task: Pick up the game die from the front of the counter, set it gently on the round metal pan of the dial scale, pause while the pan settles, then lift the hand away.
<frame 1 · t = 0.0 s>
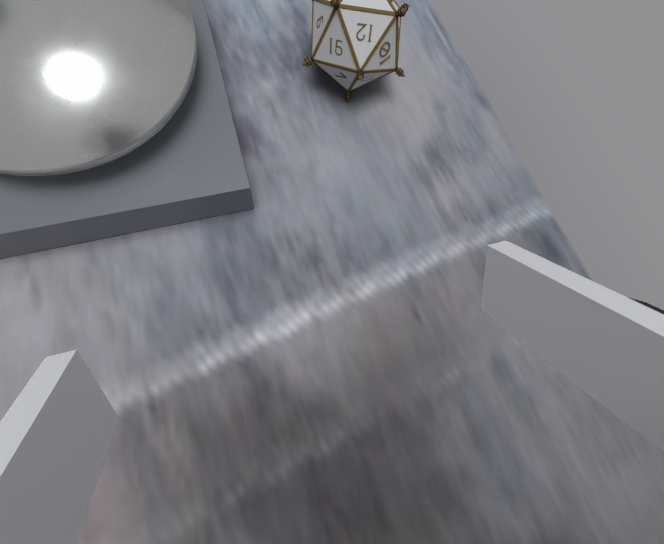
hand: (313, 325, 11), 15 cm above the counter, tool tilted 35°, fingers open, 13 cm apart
game die: (346, 74, 31), on the counter
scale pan: (45, 41, 21), point 6 cm above the counter, slide at 0.5 cm
scale: (95, 103, 27), on the counter
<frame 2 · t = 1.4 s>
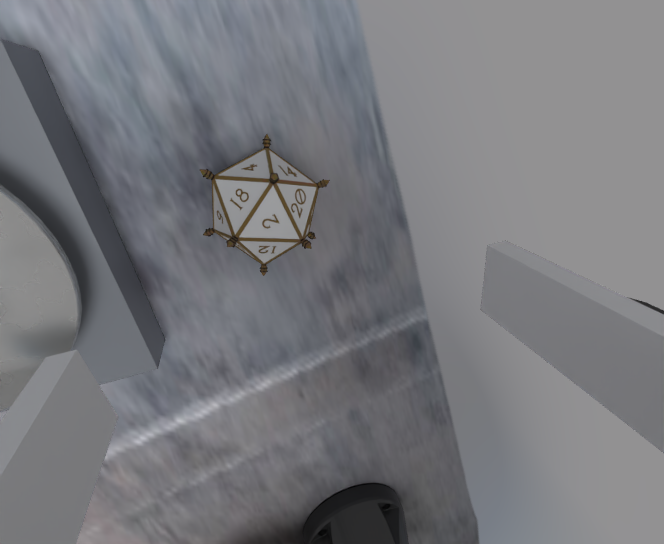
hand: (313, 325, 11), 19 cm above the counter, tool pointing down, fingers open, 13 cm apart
game die: (259, 195, 28), on the counter
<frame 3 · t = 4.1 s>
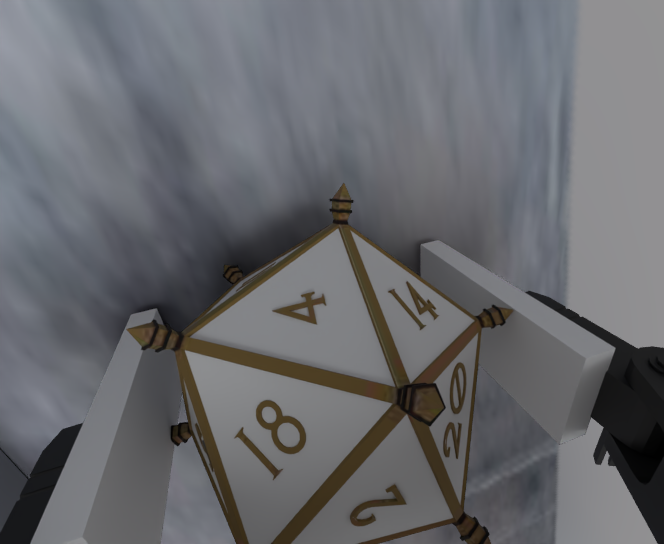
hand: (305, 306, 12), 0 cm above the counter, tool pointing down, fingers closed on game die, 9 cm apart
game die: (298, 300, 13), on the counter, touching gripper
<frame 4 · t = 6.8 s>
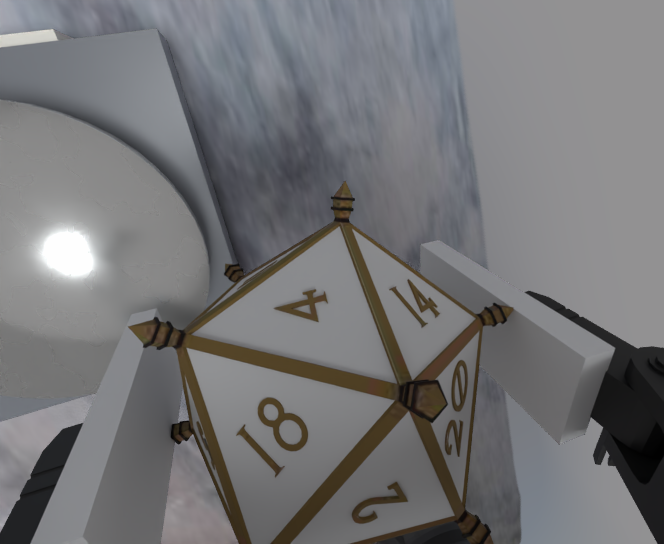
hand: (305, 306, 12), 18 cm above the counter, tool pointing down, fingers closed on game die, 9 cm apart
game die: (299, 299, 13), point 17 cm above the counter, touching gripper
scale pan: (47, 269, 20), point 6 cm above the counter, slide at 0.5 cm
scale: (82, 236, 25), on the counter
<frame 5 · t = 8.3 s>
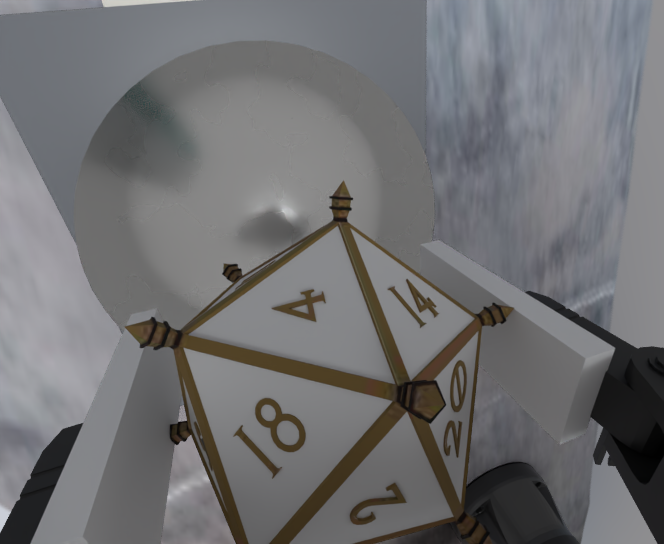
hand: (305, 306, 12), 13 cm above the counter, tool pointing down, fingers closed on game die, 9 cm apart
game die: (298, 299, 12), point 13 cm above the counter, touching gripper
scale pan: (278, 241, 18), point 6 cm above the counter, slide at 0.5 cm
scale: (266, 212, 23), on the counter
when the fingers open (10 cm above the counter, at t = 9.6 s): game die drops 3 cm, resting on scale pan.
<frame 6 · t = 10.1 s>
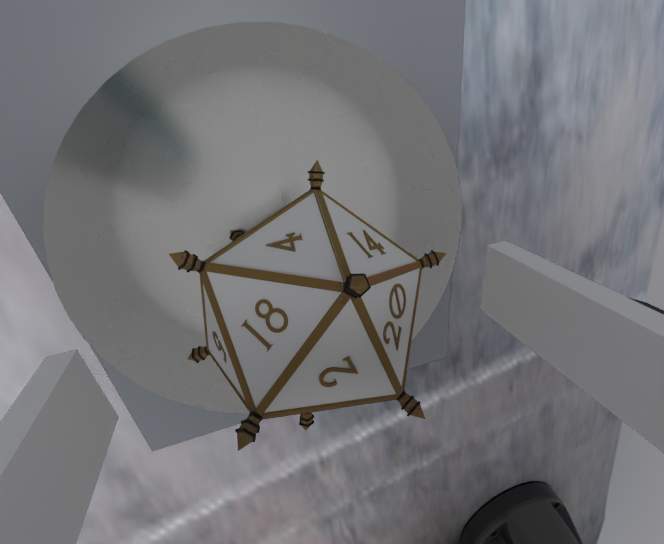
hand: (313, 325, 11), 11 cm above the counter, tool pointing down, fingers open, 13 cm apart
game die: (290, 261, 15), point 6 cm above the counter, touching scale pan
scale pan: (284, 256, 16), point 5 cm above the counter, slide at 1.2 cm, touching game die
scale: (271, 224, 21), on the counter
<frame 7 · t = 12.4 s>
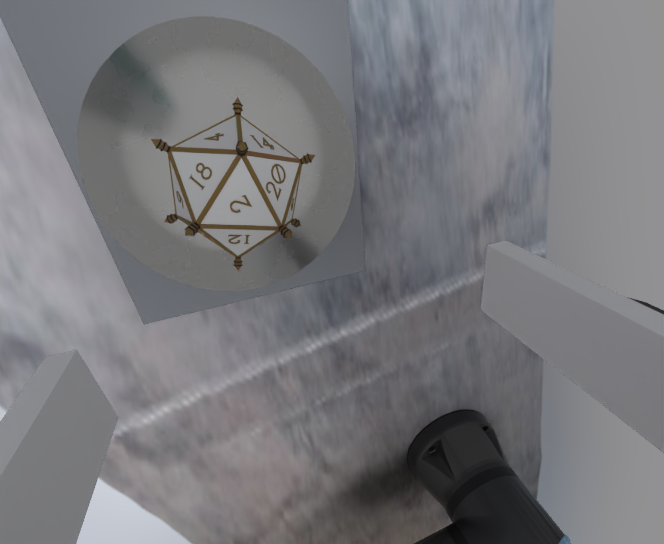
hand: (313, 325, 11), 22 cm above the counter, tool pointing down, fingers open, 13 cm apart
game die: (235, 176, 24), point 6 cm above the counter, touching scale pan
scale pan: (232, 174, 24), point 5 cm above the counter, slide at 1.2 cm, touching game die
scale: (230, 163, 28), on the counter
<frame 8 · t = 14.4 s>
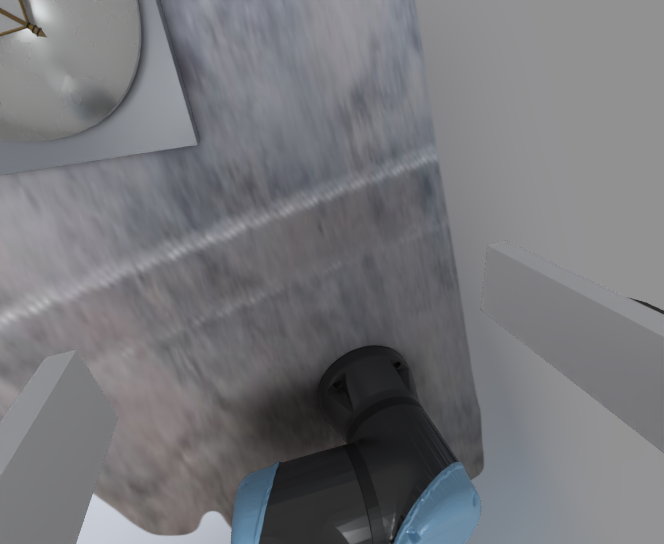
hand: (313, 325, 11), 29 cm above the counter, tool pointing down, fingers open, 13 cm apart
scale: (23, 10, 26), on the counter
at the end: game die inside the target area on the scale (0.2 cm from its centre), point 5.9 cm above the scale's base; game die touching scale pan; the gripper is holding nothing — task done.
